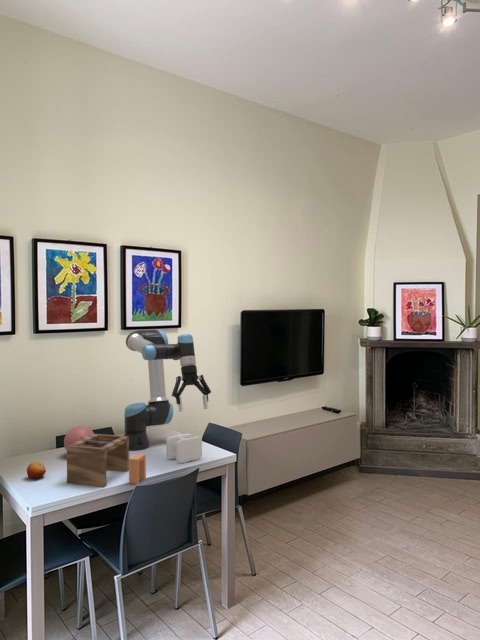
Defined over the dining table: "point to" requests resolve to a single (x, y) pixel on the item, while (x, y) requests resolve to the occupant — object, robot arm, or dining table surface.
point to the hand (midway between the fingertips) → (193, 410)
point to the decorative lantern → (77, 435)
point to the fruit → (35, 470)
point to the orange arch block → (137, 468)
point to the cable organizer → (184, 448)
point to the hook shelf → (96, 459)
